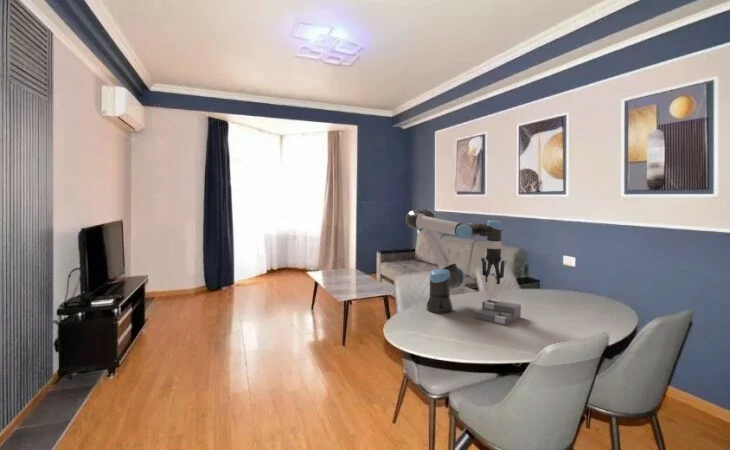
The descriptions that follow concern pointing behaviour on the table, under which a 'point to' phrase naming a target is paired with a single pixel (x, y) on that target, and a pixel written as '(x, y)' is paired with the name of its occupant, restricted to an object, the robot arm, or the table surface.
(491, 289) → the cream long block
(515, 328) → the table surface
